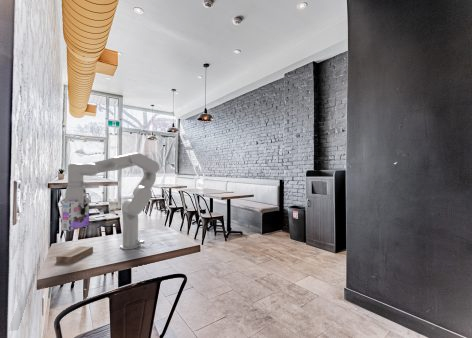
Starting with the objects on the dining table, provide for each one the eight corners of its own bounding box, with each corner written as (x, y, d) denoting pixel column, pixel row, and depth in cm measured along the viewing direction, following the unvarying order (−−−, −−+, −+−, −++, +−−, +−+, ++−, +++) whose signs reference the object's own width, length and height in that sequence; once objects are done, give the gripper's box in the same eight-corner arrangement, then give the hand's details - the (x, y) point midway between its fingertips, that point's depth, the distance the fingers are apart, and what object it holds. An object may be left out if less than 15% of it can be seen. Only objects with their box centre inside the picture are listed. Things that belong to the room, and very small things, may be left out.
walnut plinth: (93, 253, 148) (92, 246, 148) (71, 264, 131) (71, 257, 131) (79, 252, 149) (79, 246, 148) (56, 263, 132) (56, 256, 132)
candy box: (69, 231, 132) (69, 201, 132) (60, 230, 133) (60, 201, 133) (89, 225, 146) (89, 198, 146) (81, 224, 147) (81, 198, 147)
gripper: (94, 184, 144) (94, 213, 144) (63, 184, 142) (63, 213, 142) (88, 185, 137) (88, 215, 137) (55, 185, 134) (55, 216, 135)
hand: (75, 214), depth 139 cm, fingers closed on candy box, 7 cm apart
